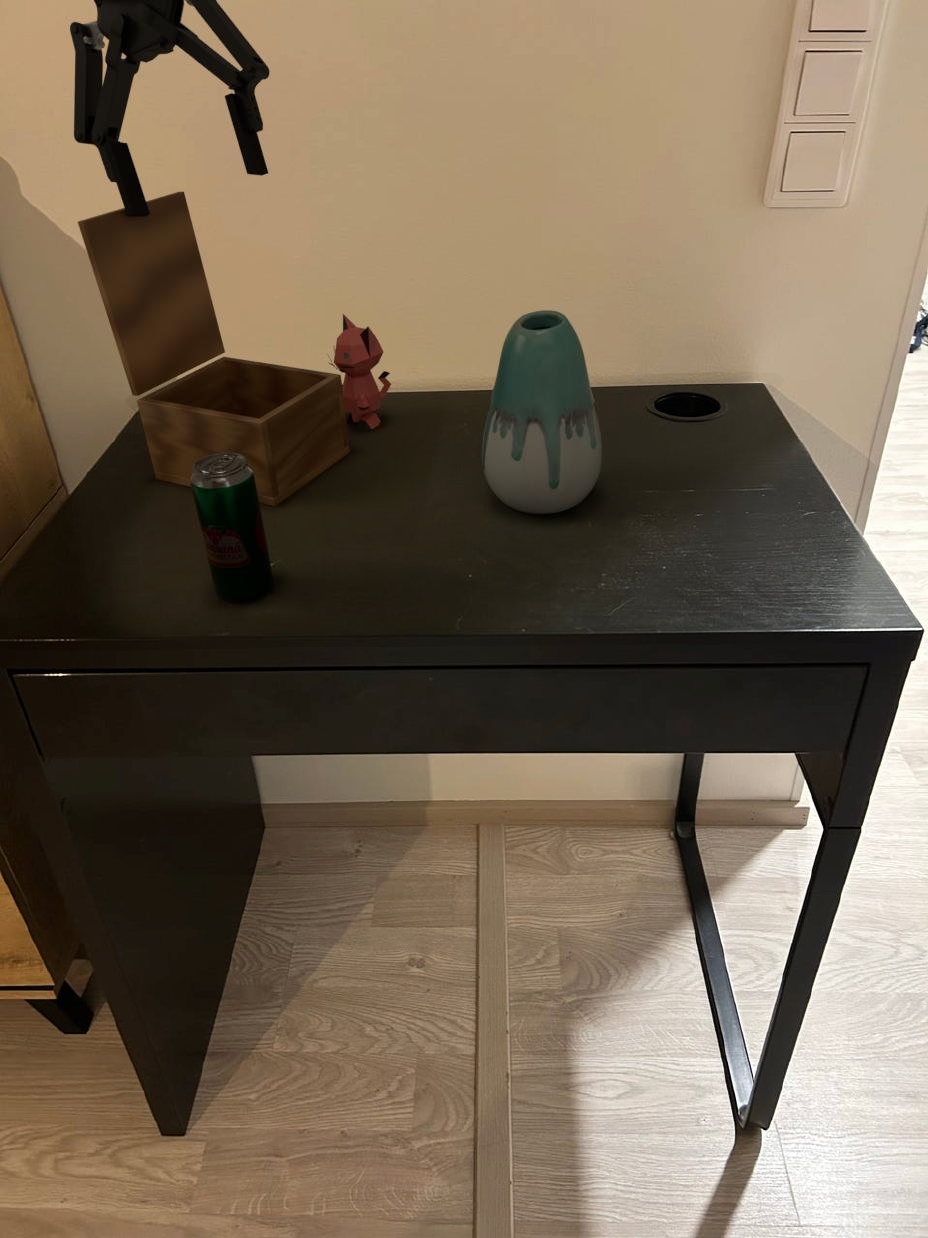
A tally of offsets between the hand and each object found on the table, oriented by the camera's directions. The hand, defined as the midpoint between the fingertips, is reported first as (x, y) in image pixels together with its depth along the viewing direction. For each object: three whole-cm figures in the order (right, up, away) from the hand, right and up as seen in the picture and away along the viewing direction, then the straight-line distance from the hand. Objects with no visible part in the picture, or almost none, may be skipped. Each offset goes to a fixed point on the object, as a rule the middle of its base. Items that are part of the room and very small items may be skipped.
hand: (197, 195), depth 90 cm
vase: (+33, -28, +5) cm, 43 cm away
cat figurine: (+14, -17, +23) cm, 32 cm away
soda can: (+6, -37, -6) cm, 38 cm away
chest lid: (-6, -7, +8) cm, 12 cm away
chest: (+2, -23, +14) cm, 27 cm away
